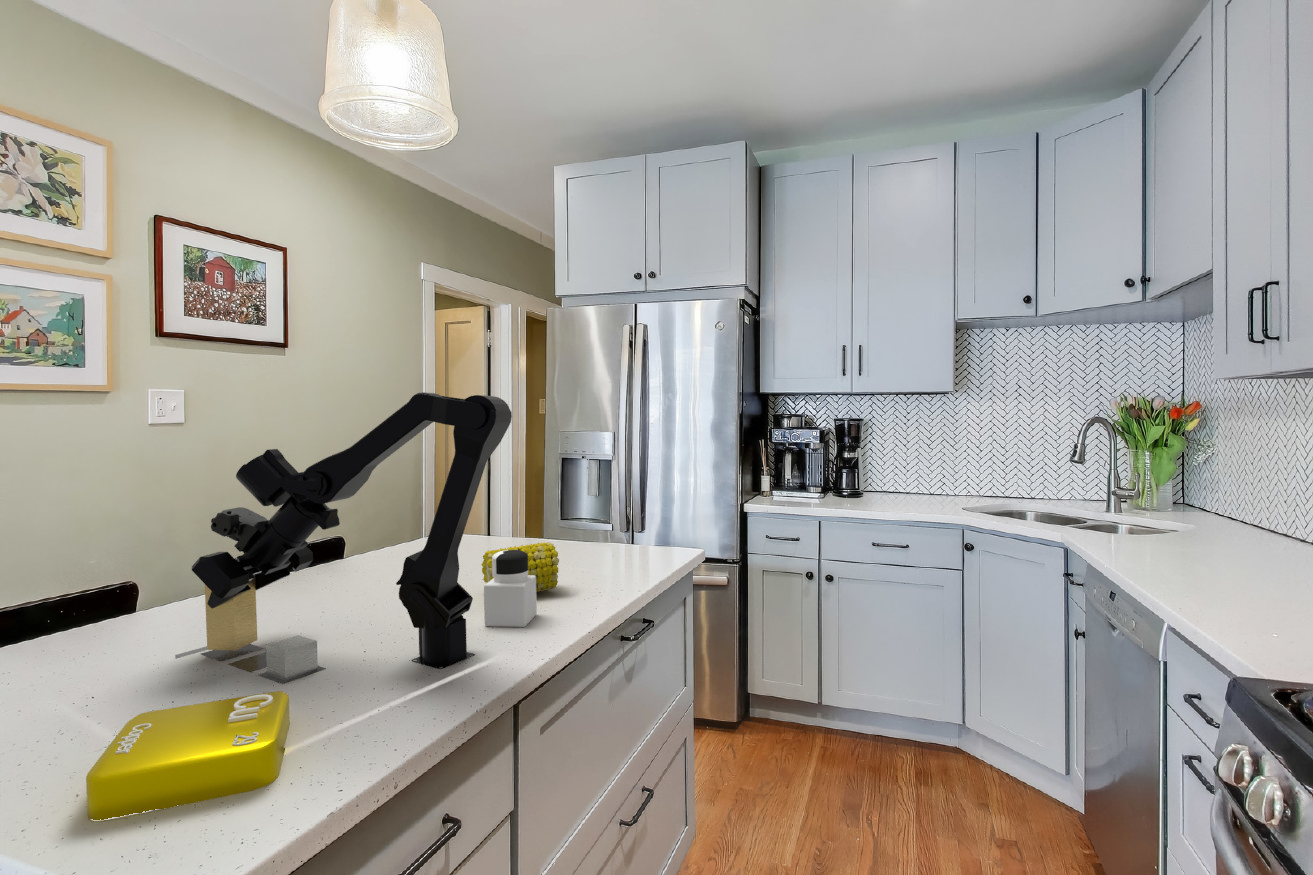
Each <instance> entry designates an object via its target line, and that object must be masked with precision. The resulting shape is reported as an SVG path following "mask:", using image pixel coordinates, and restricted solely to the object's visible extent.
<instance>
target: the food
mask: <svg viewBox="0 0 1313 875" xmlns="http://www.w3.org/2000/svg"><path fill="white" fill-rule="evenodd" d="M504 550H521V551H523V552H526V553H527V554H528V575H535V576H536V593H539V592H540V591H546V590H547V591H548V590H552V589H555V588H557V586H558V583H559V581H558V579H559V576H558V575H559V567H558V566H559V563H560V558H558V557H559V552H558V551H557V550H556V546H555V545H554V543H552V542H550V541H549V542H541V543H540V542H537V543H534V544H533V543H530V544H525V545H523V544H522V545H519V546H516V545H514V546H513V547H512V546H507V548H506V547H505V548H499V549H492V550H487V551H485V552H484V554H483V555H482V557H483V561H482V563H481V566H482V567H481V573H482V574H483V575H484V576H483V581H484V583H485V584H486V583H488V582H489V581H491V580H492V579H493V578H494V577H493V576H492V556H493V555H494V554H496V553H497V552H500V551H504Z"/></svg>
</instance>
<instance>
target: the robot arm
mask: <svg viewBox="0 0 1313 875" xmlns="http://www.w3.org/2000/svg"><path fill="white" fill-rule="evenodd" d="M512 417H513V416H512V411H511V409H510V407H509V404H508V403H507V402H506V401H505V400H504V399H503V398H501V397H498V396H495V395H494V396H493V395H484V394H483V395H479V394H476V395H470V396H468V397H466V398H460V397H459V398H458V397H452V396H451V397H450V396H445V395H440V394H438V393H435V392H423V391H422V392H417V393H415V394H414V395H412V397H410V399H409V401H408V402H406V403H405V404H404V405H402V406H401V407H400V408H398V409H397V410H396V411H394V412H393V413H392V414H391V415H390V416H388V417H387V418H386V419H384V420H383V421H382V422H380V423H379V424H378V425H376V427H374V428H373V429H372V430H371V431H369V432H368V433H367V434H365V435H364V436H363V437H362V438H361V439H358V441H356V442H355V443H354V444H352V446H350V447H348V448H346V449H344V450H342V451H339V452H337V453H334V454H332V455H330V456H326V457H325V458H323V459H321V460H319V461H317V462H315V463H313V464H312V465H310V466H308V467H307V468H306V469H305V470H304V471H301V472H299V471H297V469H295V467H294V466H293V465H292V464H291V463H290V462H289V461H288V460H287V459H286V458H285V455H284V454H282V452H281V451H280V450H279V449H278V448H272V449H266V450H265V451H264V453H262V454H261V455H258V456H256V457H254V458H253V459H251V460H249V462H247V463H244V464H242V466H240V468H239V469H238V470H237V471H236V474H235V478H236V480H237V481H238V482H239V483H240V484H241V485H242V486H244V488H245V489H246V490H247V491H248V492H249V493H250V494H251V495H252V496H253V497H254V498H255V499H256V501H257V502H259V504H261V506H263V507H269V506H273V507H280V508H278V510H277V511H276V512H274V514H273V515H271V517H270V519H267V517H265V516H264V515H262V514H261V515H260V514H259V513H257V512H255V511H253V510H251V509H248V508H246V507H243V506H242V507H235V508H234V507H233V508H229V509H223V510H222V511H221V512H217V514H216V516H215V517H212V518H211V520H210V523H211V525H210V529H211V531H212V532H214V533H215V534H218V535H219V536H222V537H224V538H225V537H227V538H229V539H231V540H233V541H235V542H236V543H235V544H234V547H235V549H236V550H237V551H239V552H240V553H241V552H243V554H241V555H238V556H236V557H234V556H232V554H230V552H228V551H216V552H213V553H209V554H206V555H203V556H199V558H198V559H197V560H196V561H195V562H194V563H193V565H191V571H192V573H194V575H196V577H197V578H198V579H199V580H200V581H201V582H202V583H203V584H204V586H205V585H206V586H207V587H208V588H209V589H210V590H211V591H212V592H211V594H210V597H209V600H208V603H207V604H208V605H209V606H210V607H211V608H215V607H217V606H219V605H221V604H223V603H225V602H227V601H229V600H231V599H233V598H235V597H237V596H239V595H241V594H243V593H245V592H247V591H249V590H251V588H250V587H249V586H248V584H249V581H250V580H252V579H253V577H254V576H253V575H255V586H256V591H259V590H260V589H263V588H264V587H267V586H269V585H270V584H271V585H272V584H273V583H276V582H278V581H280V580H282V579H285V578H286V577H289V576H290V575H291V572H290V570H289V569H288V567H289V565H290V564H291V563H292V562H291V561H290V560H289V559H292V560H293V562H295V564H294V565H293V566H292V570H293V571H294V572H295V573H296V572H299V571H302V570H305V569H307V568H308V566H310V565H311V563H312V562H313V561H314V556H313V555H314V554H313V551H312V550H311V549H310V548H309V547H308V545H309V542H307V541H306V540H307V539H308V538H309V537H310V536H311V535H312V534H313V533H314V532H315V530H317V528H318V527H320V529H322V530H323V531H325V530H328V529H333V528H335V527H339V526H340V524H341V523H340V518H339V514H338V513H339V509H338V508H330V507H329V506H328V503H333V502H337V501H341V500H342V501H343V500H346V499H350V498H352V497H353V496H355V495H356V494H357V493H358V491H359V490H360V489H361V488H362V487H363V486H364V485H365V484H366V483H367V482H368V480H369V478H370V476H371V475H372V473H373V471H374V470H375V469H376V468H377V467H378V466H379V465H380V464H381V463H382V462H384V461H385V460H387V458H389V457H390V456H391V455H393V454H395V452H397V451H398V450H399V449H400V448H401V447H403V446H405V444H407V443H408V442H409V441H411V440H412V439H413V438H415V437H416V436H418V434H420V433H421V432H422V431H423V430H425V429H426V428H428V427H429V426H430V425H431V424H433V423H437V424H442V425H447V426H453V434H452V435H453V443H454V445H453V446H454V457H453V458H452V462H451V466H450V468H449V471H448V474H447V477H446V480H445V484H444V487H443V490H442V492H441V495H440V496H441V497H440V499H439V503H438V505H437V508H436V512H435V515H434V518H433V522H432V524H431V528H430V531H429V534H428V536H427V540H426V542H425V546H424V548H423V549H422V550H420V551H417V552H414V553H413V554H411V555H409V556H406V557H405V559H404V561H403V567H402V573H401V575H400V578H399V579H398V581H397V582H396V583H395V584H396V585H397V586H399V588H398V599H399V600H400V601H401V604H402V606H403V607H404V608H405V609H406V611H407V613H408V615H409V619H410V621H411V624H412V627H413V628H415V629H416V628H417V629H418V655H419V656H418V657H416V658H413V659H411V660H410V661H411V662H412V663H416V664H419V665H423V666H426V667H430V668H434V669H437V670H443V669H446V668H448V667H450V666H453V665H455V664H458V663H460V662H463V661H465V660H468V659H469V658H472V657H474V656H476V654H475V653H473V652H468V651H467V619H466V618H464V614H465V613H467V612H469V611H470V609H471V606H472V603H473V596H472V595H471V594H470V593H469V592H468V591H467V590H466V589H465V588H464V587H463V586H462V585H461V584H460V583H459V582H458V579H459V573H460V563H459V562H460V561H459V547H460V545H461V541H462V540H463V539H462V538H463V537H464V536H463V535H464V532H465V530H466V527H467V524H468V520H469V517H470V514H471V511H472V507H473V505H474V502H475V499H476V496H477V492H478V490H479V486H480V483H481V480H482V478H483V474H484V471H485V468H486V465H487V462H488V460H489V459H490V458H491V456H492V455H493V453H494V452H495V450H496V449H497V448H498V446H499V445H500V443H501V442H502V440H503V438H504V436H505V434H506V432H507V431H508V429H509V427H510V425H511V423H512Z"/></svg>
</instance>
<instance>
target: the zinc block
mask: <svg viewBox="0 0 1313 875" xmlns="http://www.w3.org/2000/svg"><path fill="white" fill-rule="evenodd" d="M265 652H266V664H267V667H266V672H267V674H268V675H271V676H274V677H277V678H279V679H282V680H285V681H286V680H288V679H291V678H294V677H297V676H300V675H303V674H306V673H308V672H311V671H314V670H317V669H318V666H319V665H318V664H319V662H318V660H319V659H318V658H319V657H318V641H317V640H316V639H312V638H309V637H306V636H302V635H294V636H292V637H289V638H284V639H281V640H279V641H278V640H277V641H275V642H271V643H268V644H265Z"/></svg>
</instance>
